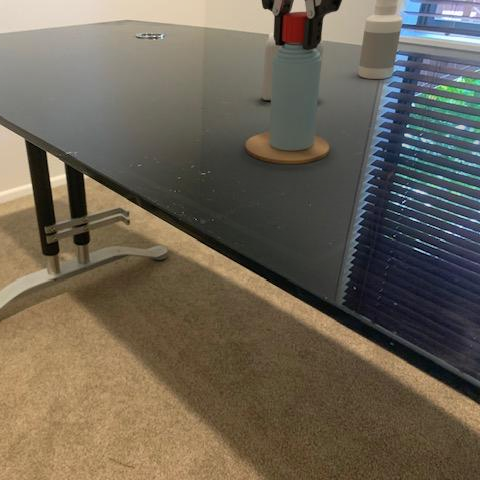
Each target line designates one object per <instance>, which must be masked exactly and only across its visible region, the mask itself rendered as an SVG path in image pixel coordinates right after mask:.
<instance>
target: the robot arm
mask: <svg viewBox="0 0 480 480" xmlns="http://www.w3.org/2000/svg"><path fill="white" fill-rule="evenodd" d="M294 1H295V0H261V6H262V8H263V9H264V10H269V11H270V12H272V14H273V16H274V17H273V18H274V20H273V33H274V40H275V44H276V45H278V46H283V45H285V43H286V42H284V41H282V28H283V18H284V17H283V16H284V14H286V13H292V9H293V5H294ZM342 2H343V0H304V5H305V12H306V14H307V17H308V19H305V25H304V38H303V49H305V50H311V49H315V48H317V46H318V44H320V41H321V36H322V37H323V33H322V32H323V25H324V24H323V23H324V18H325V16H327V15H328V14H332V13H335V12H337V11H339V9H340V7H341V5H342Z"/></svg>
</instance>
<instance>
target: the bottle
mask: <svg viewBox="0 0 480 480" xmlns="http://www.w3.org/2000/svg"><path fill="white" fill-rule="evenodd" d="M321 60H322V61H323V57H322V58H321V57H320V53H319V52H317V49H311V50H305V49H303V43H288V42H286V43H285V45H284V46H282V47H281V49H280V50H279V51H278V53H276V54H275V55H274V58H273V63H272V87H271V100H270V111H269V113H270V114H269V132H270V134H269V144H270V145H271V146H272V147H274V148H277V149H280V150H287V151H297V150H304V149H307V148H310V147H311V146H313V144H314V136H315V135H316V126H317V114H318V112H317V111H318V104H319V102H318V101H319V90H320V82H321V74H320V71H321V72H322V66H321Z"/></svg>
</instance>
